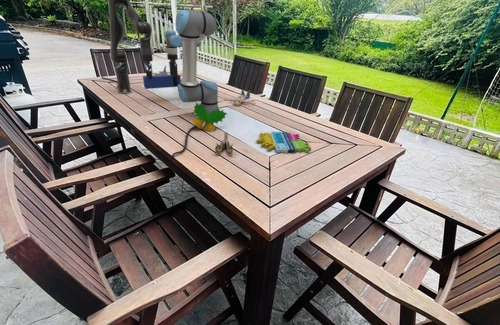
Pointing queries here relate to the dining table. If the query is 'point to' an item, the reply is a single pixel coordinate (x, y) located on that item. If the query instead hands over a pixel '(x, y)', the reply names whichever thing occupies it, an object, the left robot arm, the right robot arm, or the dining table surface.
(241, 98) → the toy
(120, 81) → the left robot arm
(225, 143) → the jawbone
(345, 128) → the dining table surface
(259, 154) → the dining table surface
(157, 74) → the airplane
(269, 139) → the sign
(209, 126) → the ornament
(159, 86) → the bar
